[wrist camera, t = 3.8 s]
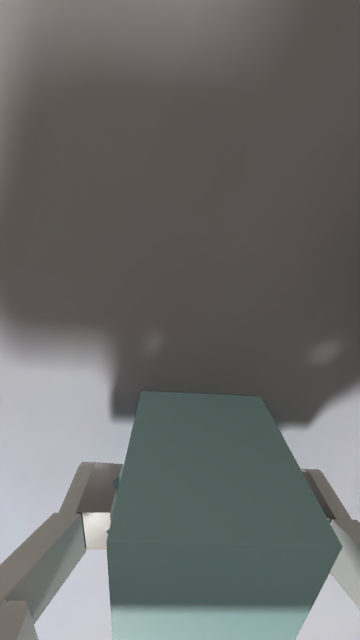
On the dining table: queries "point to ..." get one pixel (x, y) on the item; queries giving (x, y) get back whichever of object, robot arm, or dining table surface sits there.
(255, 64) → the dining table surface
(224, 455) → the mint green cube
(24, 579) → the robot arm
